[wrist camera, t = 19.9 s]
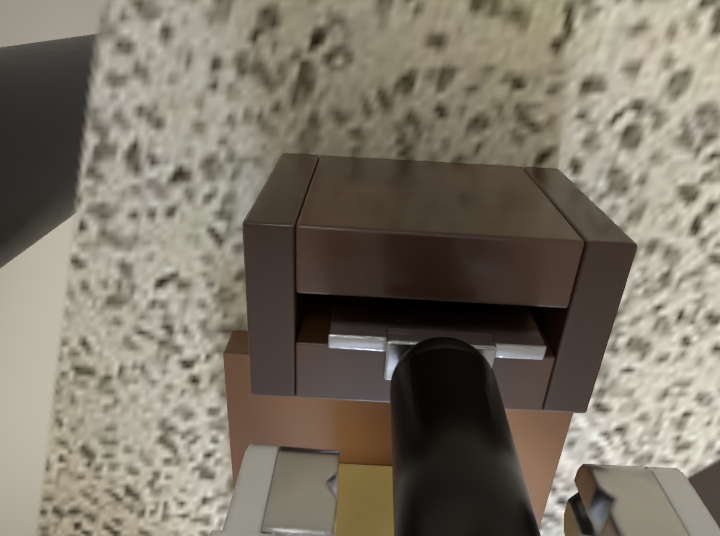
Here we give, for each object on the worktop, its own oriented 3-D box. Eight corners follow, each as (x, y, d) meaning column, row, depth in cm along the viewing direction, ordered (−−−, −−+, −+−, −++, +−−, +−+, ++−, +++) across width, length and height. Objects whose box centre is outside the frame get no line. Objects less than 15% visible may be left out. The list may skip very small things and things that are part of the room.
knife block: (284, 287, 20) (250, 395, 14) (281, 152, 18) (241, 221, 12) (529, 301, 20) (586, 415, 14) (559, 168, 18) (640, 244, 12)
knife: (343, 244, 19) (260, 931, 6) (345, 185, 18) (249, 861, 5) (485, 252, 19) (744, 959, 6) (496, 194, 18) (849, 896, 5)
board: (251, 614, 29) (245, 644, 28) (232, 330, 21) (222, 353, 19) (495, 627, 29) (501, 658, 28) (571, 349, 21) (585, 373, 19)
